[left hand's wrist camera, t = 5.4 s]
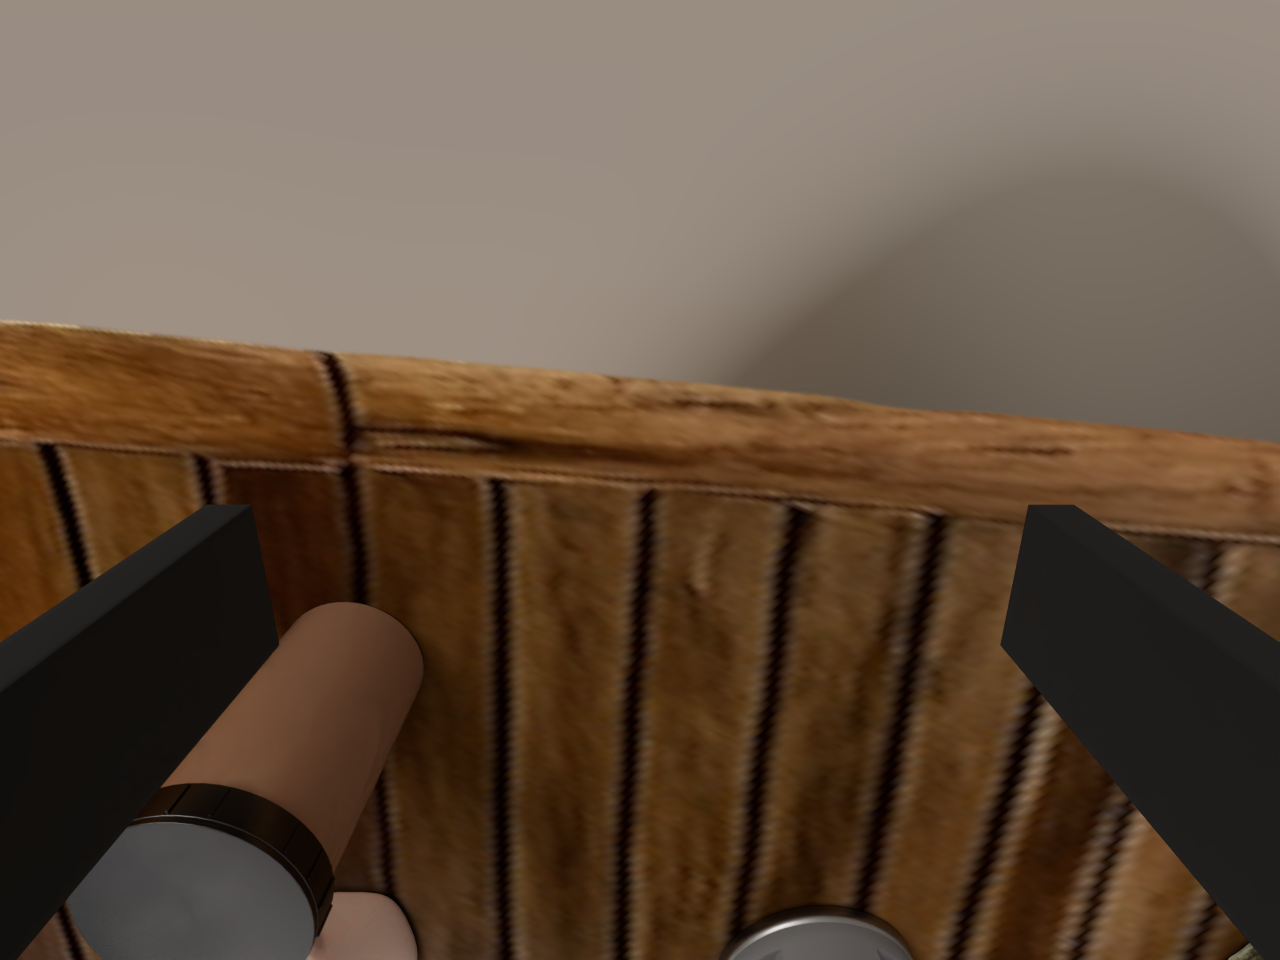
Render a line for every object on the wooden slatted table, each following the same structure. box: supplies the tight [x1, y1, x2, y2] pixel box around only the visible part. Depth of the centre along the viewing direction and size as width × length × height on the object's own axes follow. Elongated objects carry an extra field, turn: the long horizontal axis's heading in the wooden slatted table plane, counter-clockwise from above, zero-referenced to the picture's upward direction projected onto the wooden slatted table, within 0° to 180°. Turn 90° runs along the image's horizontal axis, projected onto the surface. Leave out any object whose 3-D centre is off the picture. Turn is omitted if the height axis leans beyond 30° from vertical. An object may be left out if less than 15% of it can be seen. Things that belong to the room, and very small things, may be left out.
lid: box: [68, 783, 335, 960], centre depth 30 cm, size 10×10×2 cm
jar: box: [160, 602, 424, 875], centre depth 38 cm, size 9×9×17 cm
